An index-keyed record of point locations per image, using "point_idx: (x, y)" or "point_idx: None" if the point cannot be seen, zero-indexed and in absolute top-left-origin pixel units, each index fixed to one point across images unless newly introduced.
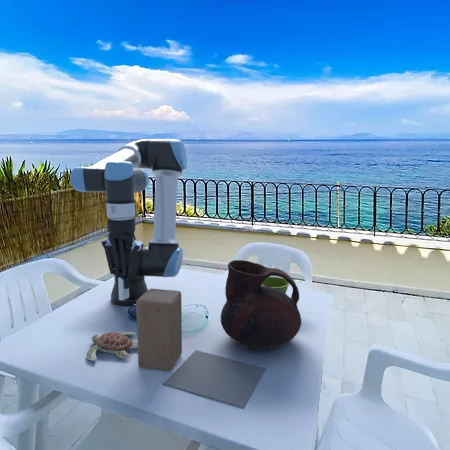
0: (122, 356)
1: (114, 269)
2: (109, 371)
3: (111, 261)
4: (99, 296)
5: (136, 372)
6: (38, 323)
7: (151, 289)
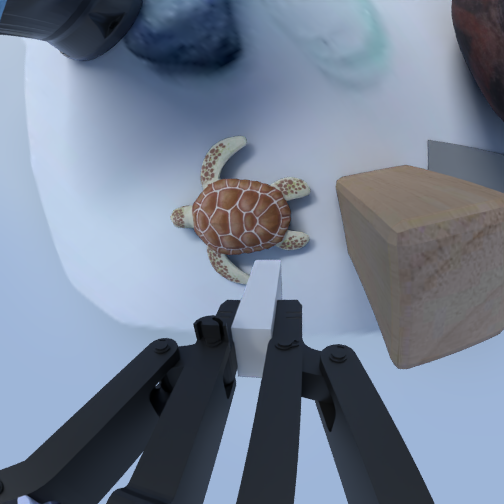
0: (298, 247)
1: (170, 383)
2: (301, 287)
3: (144, 442)
4: (44, 64)
5: (354, 267)
6: (48, 215)
7: (418, 257)
